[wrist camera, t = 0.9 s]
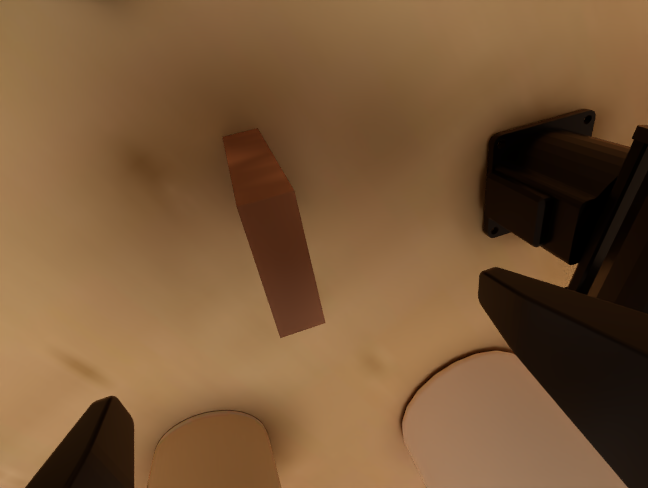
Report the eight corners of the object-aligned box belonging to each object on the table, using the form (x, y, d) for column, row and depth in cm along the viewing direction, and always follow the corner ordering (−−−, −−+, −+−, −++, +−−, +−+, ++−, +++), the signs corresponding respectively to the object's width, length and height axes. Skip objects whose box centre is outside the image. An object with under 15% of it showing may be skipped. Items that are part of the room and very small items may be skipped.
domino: (257, 128, 17) (294, 190, 10) (282, 223, 20) (325, 322, 13) (222, 137, 17) (236, 206, 10) (253, 232, 19) (280, 338, 13)
